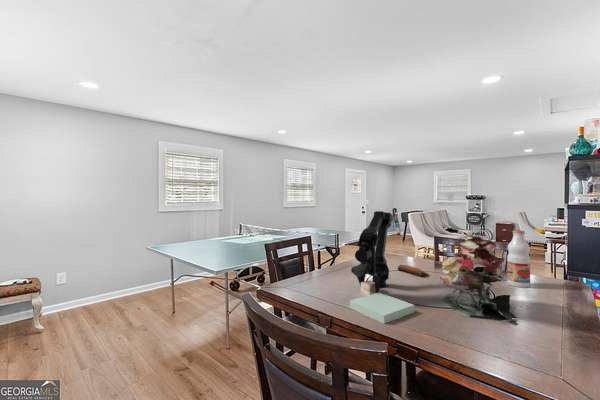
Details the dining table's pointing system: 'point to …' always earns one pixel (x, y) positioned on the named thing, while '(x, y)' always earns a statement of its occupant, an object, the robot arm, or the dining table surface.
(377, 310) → the platform
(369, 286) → the maple cube
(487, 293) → the rose bouquet
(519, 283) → the fruit juice
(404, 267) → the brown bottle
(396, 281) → the dining table surface
